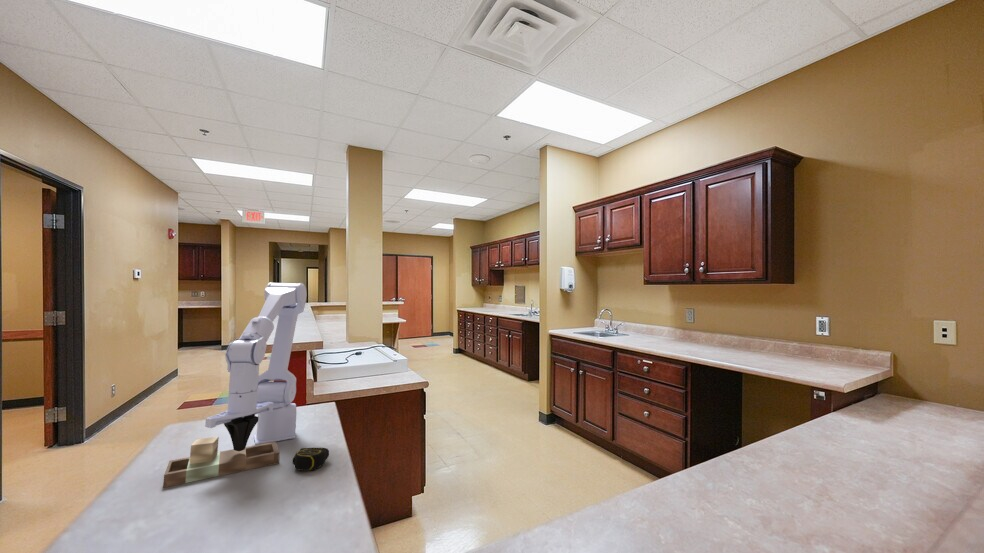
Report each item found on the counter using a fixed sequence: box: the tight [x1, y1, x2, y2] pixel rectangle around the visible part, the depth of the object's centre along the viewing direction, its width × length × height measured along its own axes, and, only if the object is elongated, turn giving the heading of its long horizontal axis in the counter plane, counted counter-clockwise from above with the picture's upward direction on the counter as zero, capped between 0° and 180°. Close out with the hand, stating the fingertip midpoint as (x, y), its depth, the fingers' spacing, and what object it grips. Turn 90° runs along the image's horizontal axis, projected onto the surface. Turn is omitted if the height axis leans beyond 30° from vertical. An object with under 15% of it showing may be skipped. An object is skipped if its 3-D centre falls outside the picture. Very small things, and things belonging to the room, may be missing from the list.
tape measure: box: [292, 447, 330, 471], centre depth 84 cm, size 7×7×4 cm
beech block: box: [189, 436, 220, 464], centre depth 82 cm, size 4×4×4 cm
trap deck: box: [162, 441, 280, 489], centre depth 83 cm, size 20×8×2 cm, turn 126°
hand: (239, 449), depth 85 cm, fingers closed
